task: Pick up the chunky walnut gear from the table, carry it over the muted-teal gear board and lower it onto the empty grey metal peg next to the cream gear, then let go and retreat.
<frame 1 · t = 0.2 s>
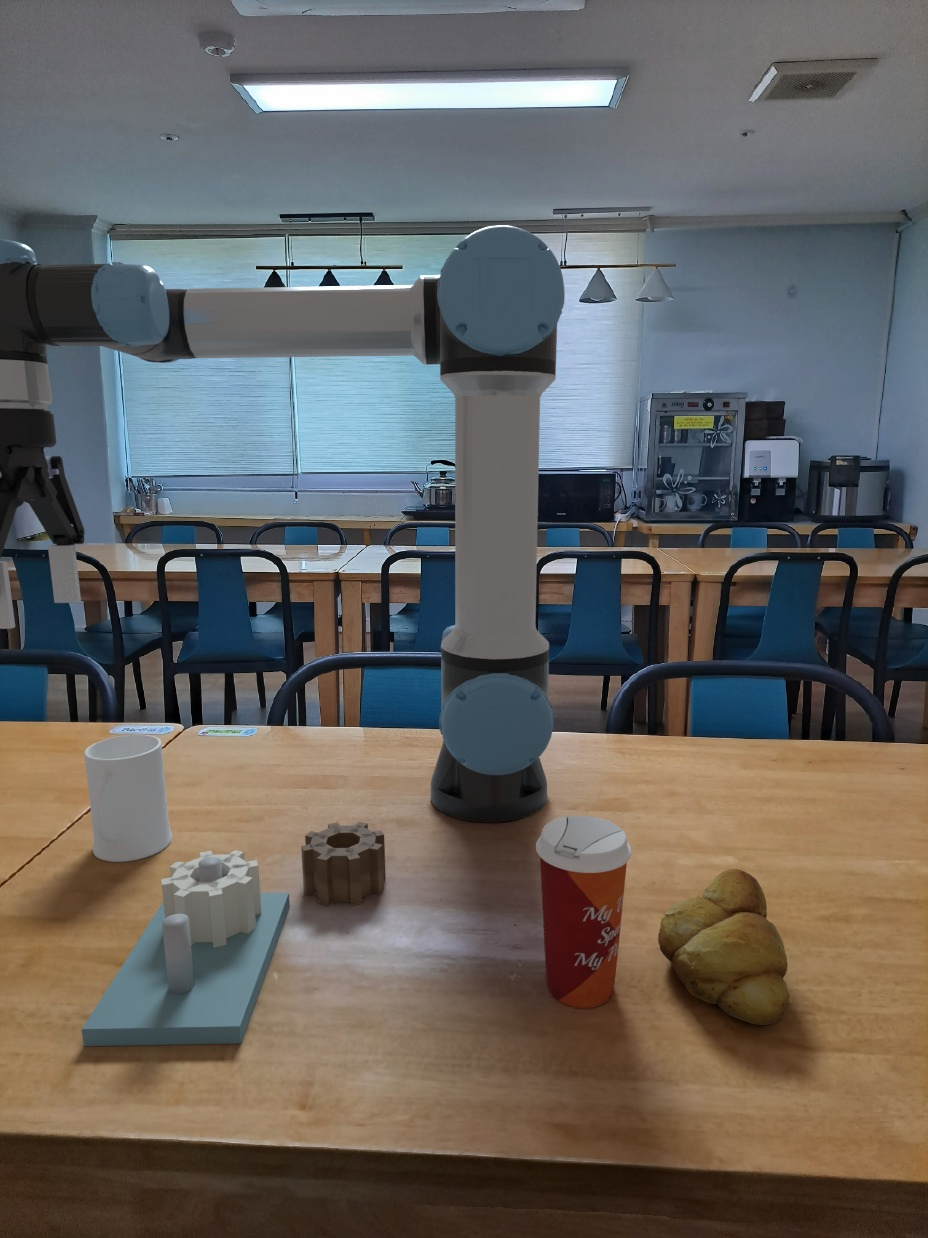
hand: (36, 614, 86), 28 cm above the table, fingers open, 13 cm apart
mug: (125, 852, 92), on the table
paper cup: (580, 988, 68), on the table
cream gear: (214, 921, 75), resting on gear board
walnut gear: (345, 884, 84), on the table
gear board: (200, 967, 71), on the table
bread roll: (722, 987, 68), on the table
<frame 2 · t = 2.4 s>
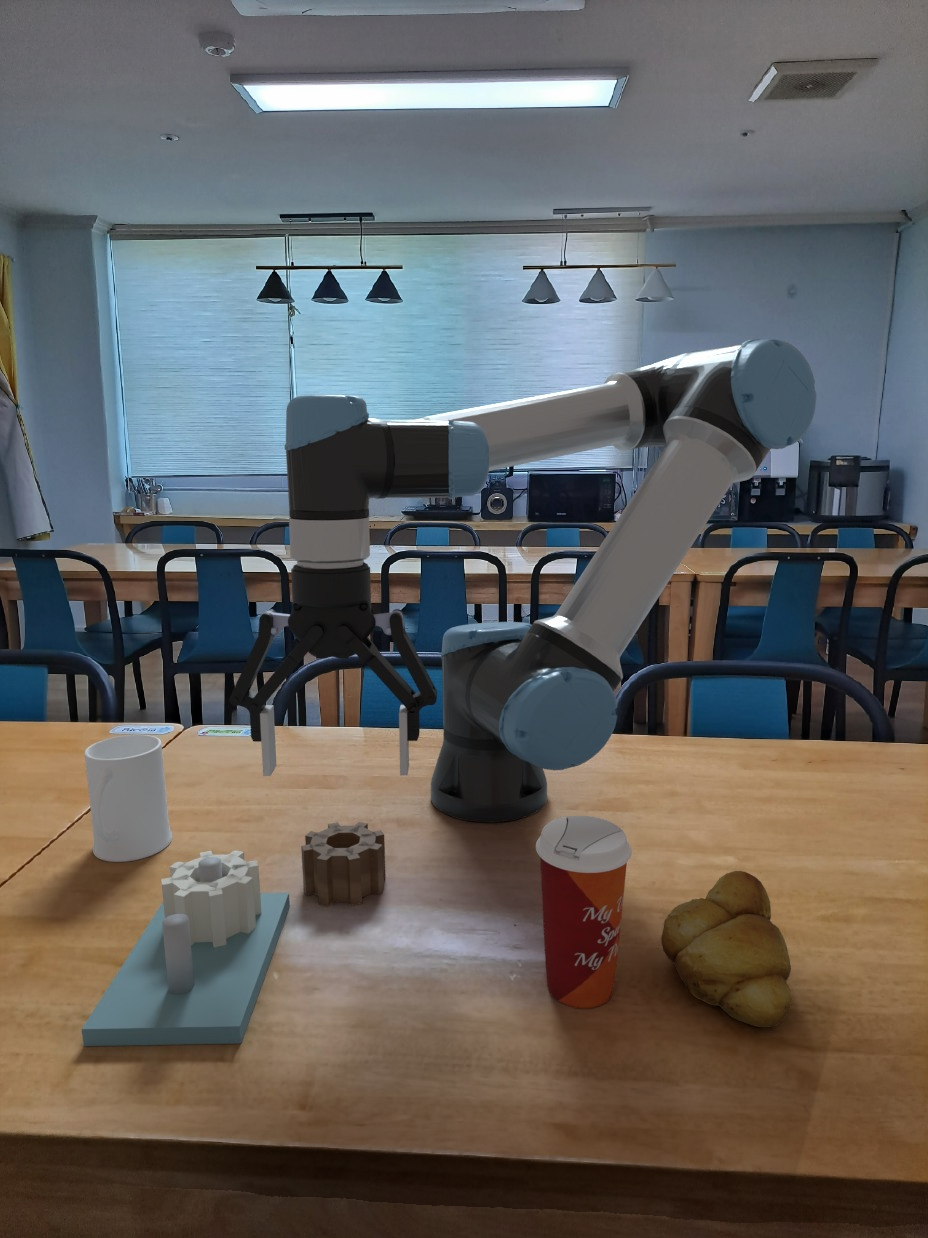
hand: (337, 771, 82), 13 cm above the table, fingers open, 13 cm apart
nothing on the table moved.
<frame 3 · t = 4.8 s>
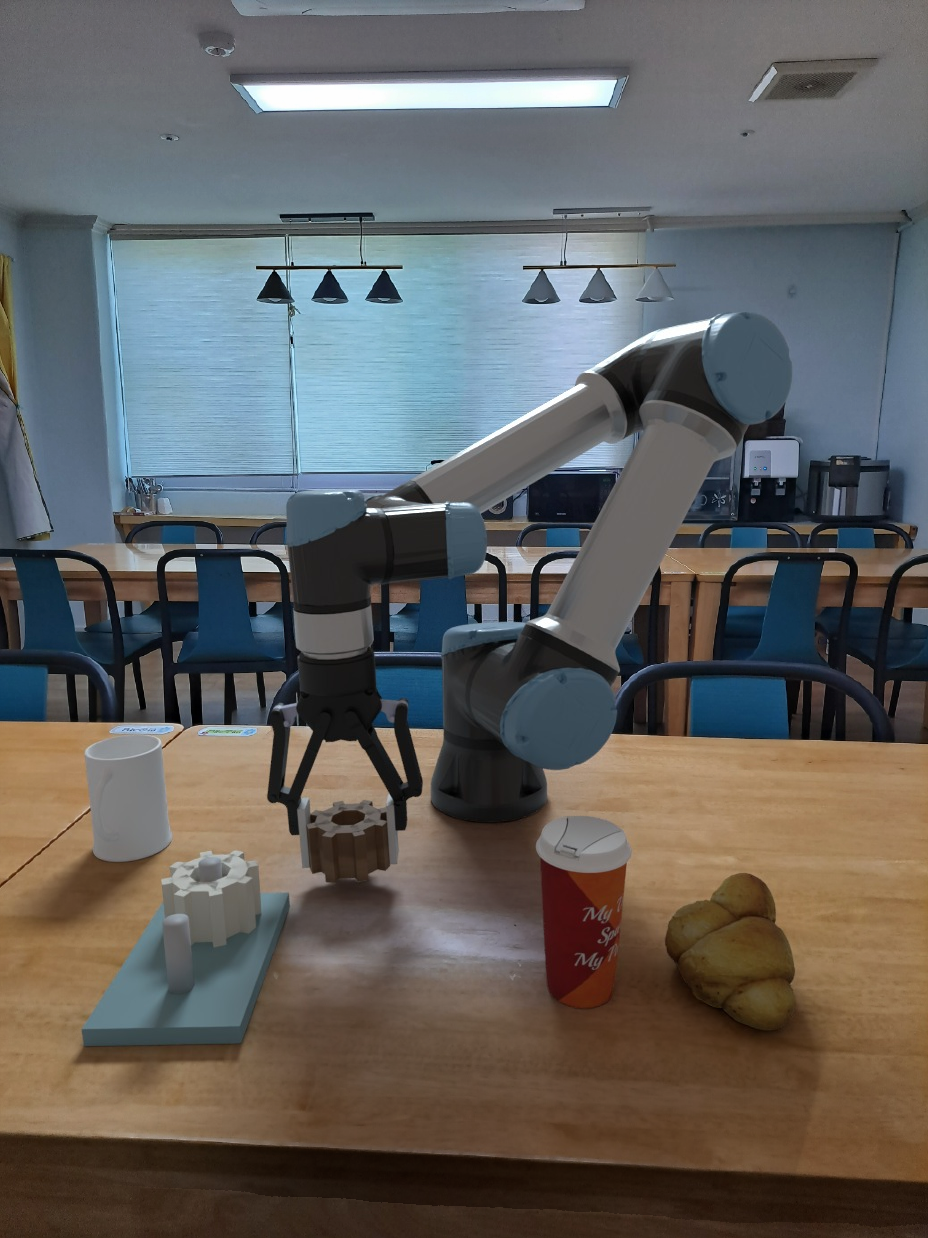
hand: (351, 859, 84), 3 cm above the table, fingers closed on walnut gear, 8 cm apart
walnut gear: (351, 861, 84), point 2 cm above the table, touching gripper
everything else where it was.
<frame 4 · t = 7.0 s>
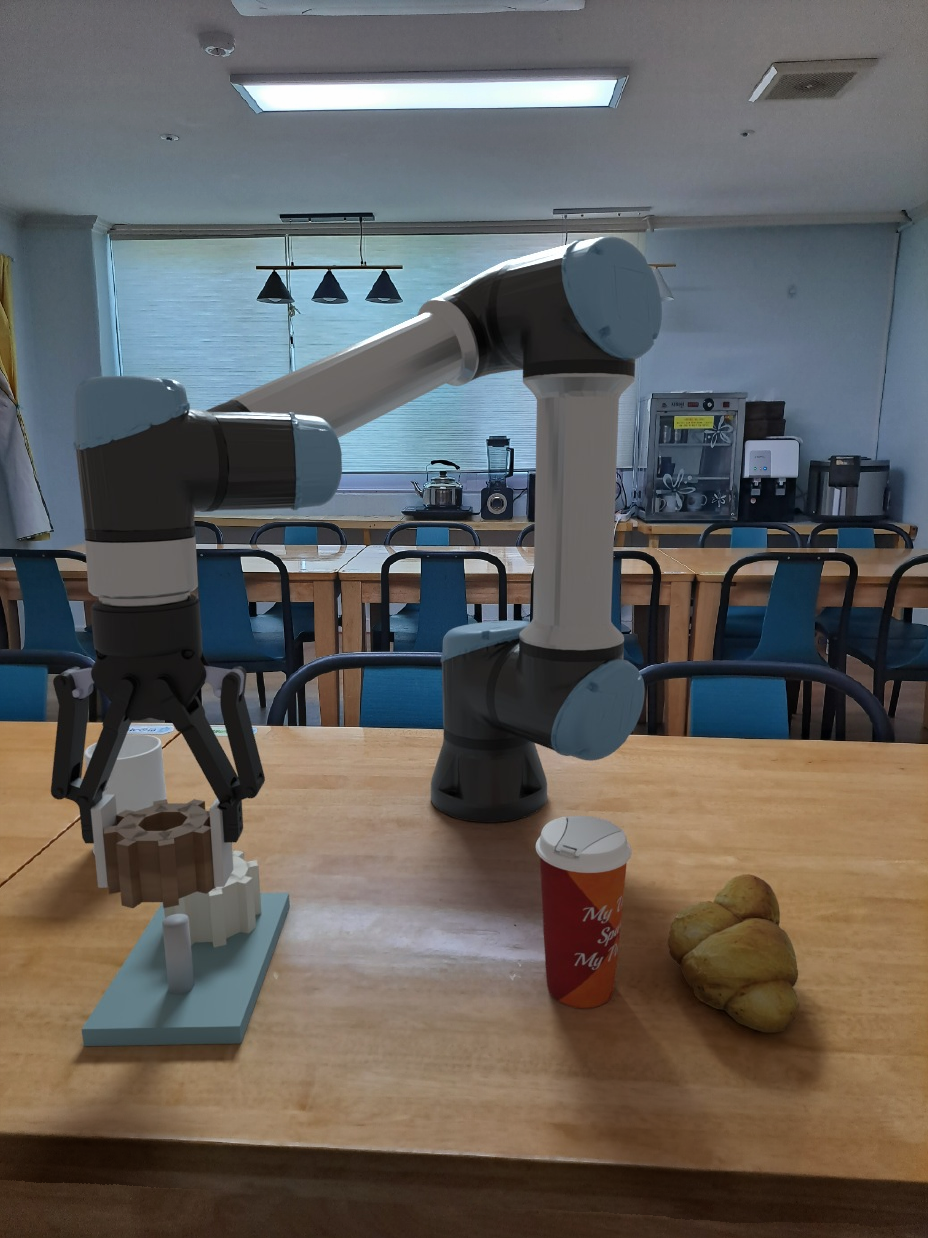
hand: (167, 878, 64), 11 cm above the table, fingers closed on walnut gear, 8 cm apart
walnut gear: (167, 879, 64), point 11 cm above the table, touching gripper
everything else where it was.
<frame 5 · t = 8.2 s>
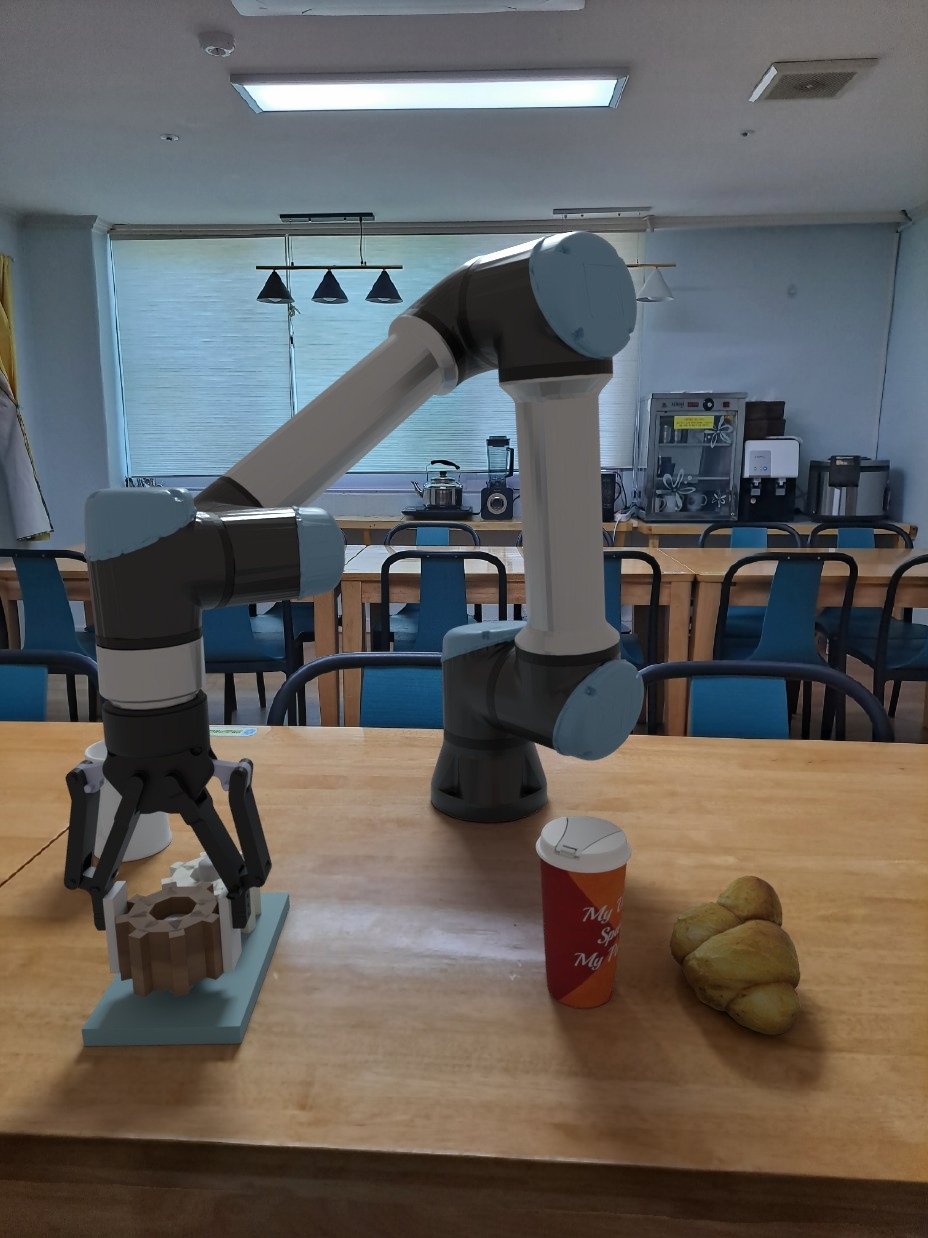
hand: (177, 962, 66), 4 cm above the table, fingers closed on walnut gear, 8 cm apart
walnut gear: (177, 963, 66), point 4 cm above the table, touching gripper
when the fingers open (2 cm above the table, at t = 9.0 s): walnut gear stays where it is, resting on gear board.
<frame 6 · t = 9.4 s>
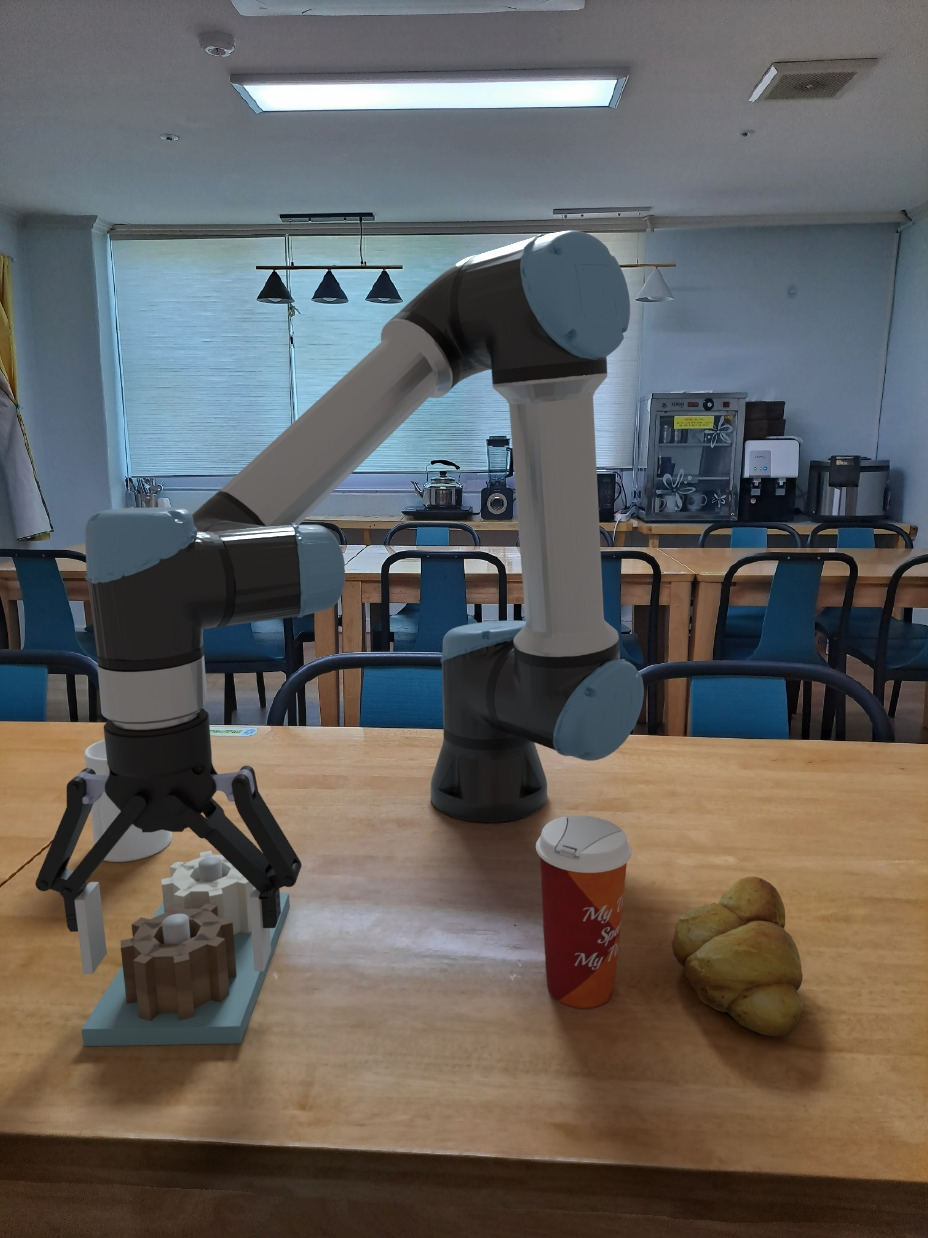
hand: (179, 962, 66), 4 cm above the table, fingers open, 13 cm apart
walnut gear: (182, 986, 66), point 1 cm above the table, touching gear board
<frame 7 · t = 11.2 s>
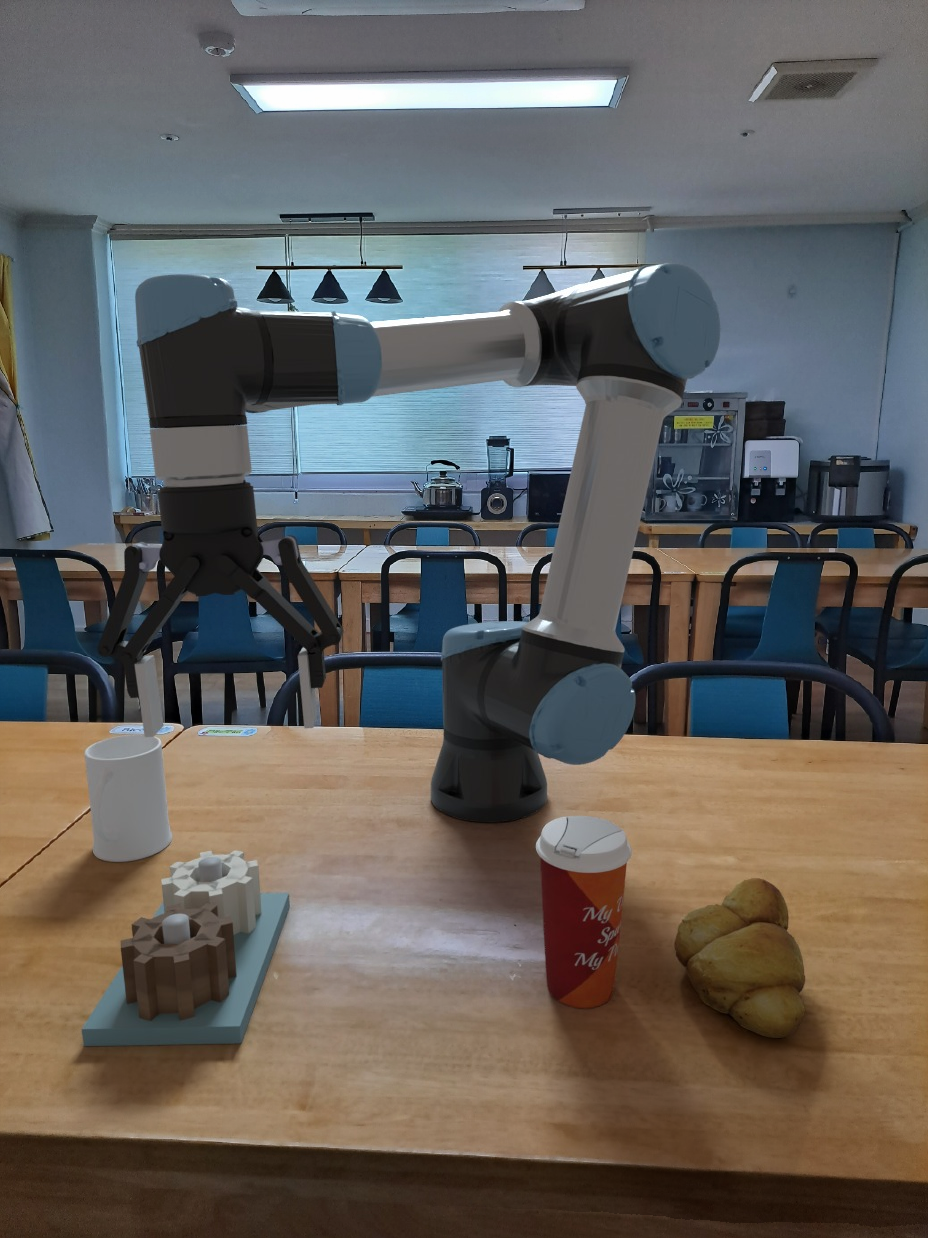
hand: (233, 727, 71), 21 cm above the table, fingers open, 13 cm apart
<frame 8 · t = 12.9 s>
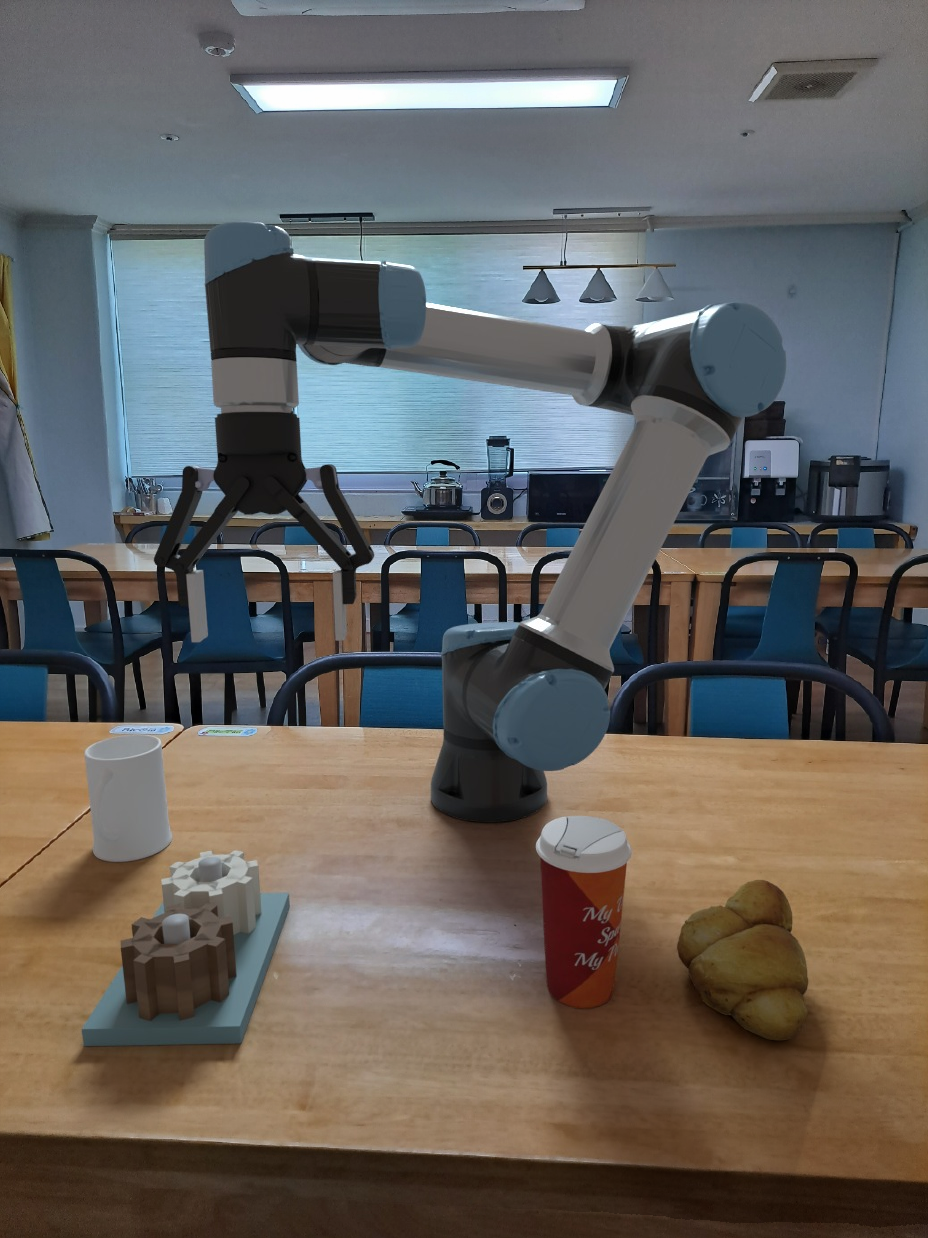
hand: (270, 638, 78), 27 cm above the table, fingers open, 13 cm apart
at the end: walnut gear 0.1 cm from the target spot on the gear board, point 1.5 cm above the gear board's base; walnut gear tilted 0°; the gripper is holding nothing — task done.
